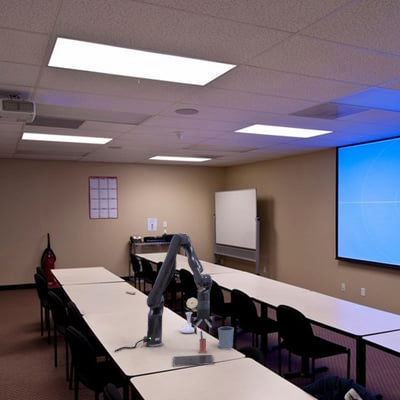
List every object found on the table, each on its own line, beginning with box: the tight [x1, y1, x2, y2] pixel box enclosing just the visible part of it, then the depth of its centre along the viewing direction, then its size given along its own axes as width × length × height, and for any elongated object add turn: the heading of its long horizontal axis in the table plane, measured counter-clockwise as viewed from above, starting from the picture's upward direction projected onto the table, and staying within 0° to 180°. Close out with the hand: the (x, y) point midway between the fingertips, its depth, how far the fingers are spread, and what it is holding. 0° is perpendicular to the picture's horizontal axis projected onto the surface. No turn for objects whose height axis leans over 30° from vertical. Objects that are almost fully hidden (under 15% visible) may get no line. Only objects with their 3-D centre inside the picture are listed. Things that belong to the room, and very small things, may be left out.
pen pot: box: [198, 337, 207, 354], centre depth 259 cm, size 4×4×8 cm
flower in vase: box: [180, 297, 198, 334], centre depth 302 cm, size 13×11×25 cm
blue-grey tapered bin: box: [217, 326, 235, 350], centre depth 270 cm, size 10×10×12 cm
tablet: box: [172, 354, 214, 367], centre depth 244 cm, size 22×14×1 cm, turn 101°
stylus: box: [199, 330, 204, 340], centre depth 259 cm, size 1×1×13 cm
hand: (202, 333), depth 259 cm, fingers open, 8 cm apart
